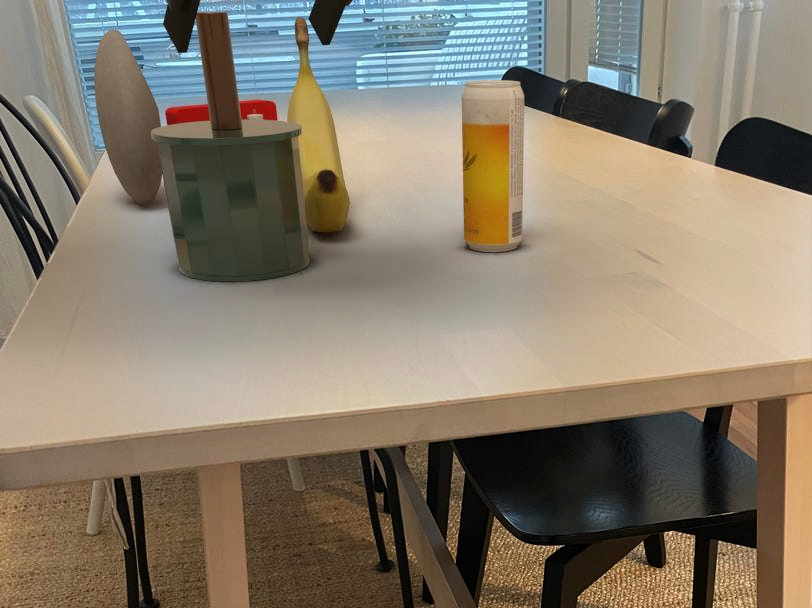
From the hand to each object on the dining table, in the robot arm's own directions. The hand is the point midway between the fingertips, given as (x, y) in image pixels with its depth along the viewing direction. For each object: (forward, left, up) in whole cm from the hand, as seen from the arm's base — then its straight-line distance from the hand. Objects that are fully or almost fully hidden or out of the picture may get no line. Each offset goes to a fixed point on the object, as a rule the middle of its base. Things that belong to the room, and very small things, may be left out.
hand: (250, 35), depth 82 cm
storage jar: (-5, +5, -20) cm, 21 cm away
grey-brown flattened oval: (-26, +36, -20) cm, 49 cm away
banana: (-1, +24, -20) cm, 31 cm away
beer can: (+19, +14, -20) cm, 31 cm away
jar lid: (-4, +5, -8) cm, 10 cm away
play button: (-19, +49, -20) cm, 56 cm away
